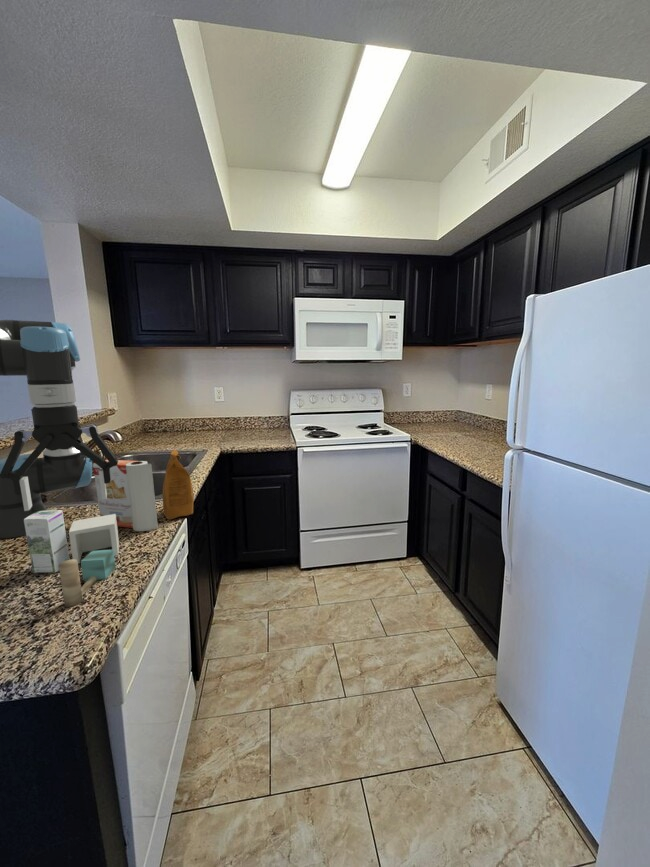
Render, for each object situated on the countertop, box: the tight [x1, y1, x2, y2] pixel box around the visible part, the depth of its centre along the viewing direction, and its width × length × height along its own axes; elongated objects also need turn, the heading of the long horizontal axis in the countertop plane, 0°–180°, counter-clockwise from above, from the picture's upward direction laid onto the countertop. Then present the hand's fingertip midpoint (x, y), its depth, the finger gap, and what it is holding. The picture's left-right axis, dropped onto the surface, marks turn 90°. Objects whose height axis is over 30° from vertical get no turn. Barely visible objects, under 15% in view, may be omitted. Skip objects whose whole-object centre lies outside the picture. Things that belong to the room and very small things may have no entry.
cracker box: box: [92, 459, 137, 529], centre depth 116 cm, size 14×6×21 cm, turn 74°
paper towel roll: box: [126, 460, 159, 532], centre depth 112 cm, size 7×6×21 cm
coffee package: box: [162, 449, 195, 520], centre depth 124 cm, size 10×12×22 cm
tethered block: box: [58, 549, 116, 608], centre depth 82 cm, size 15×5×9 cm, turn 6°
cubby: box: [68, 514, 120, 565], centre depth 97 cm, size 8×10×9 cm
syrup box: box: [24, 509, 71, 574], centre depth 90 cm, size 6×6×14 cm
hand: (68, 502), depth 78 cm, fingers open, 13 cm apart
